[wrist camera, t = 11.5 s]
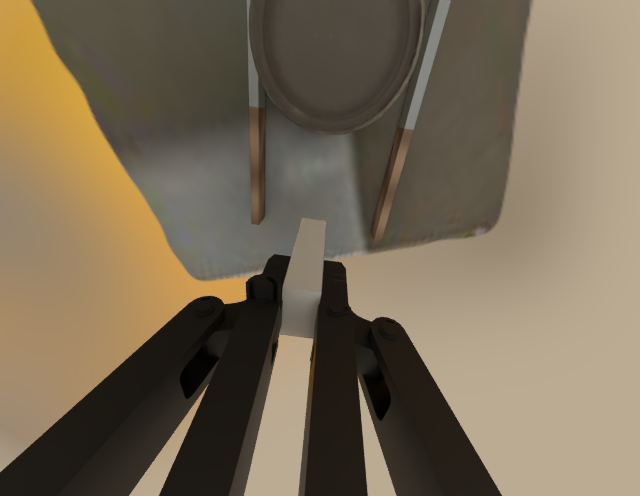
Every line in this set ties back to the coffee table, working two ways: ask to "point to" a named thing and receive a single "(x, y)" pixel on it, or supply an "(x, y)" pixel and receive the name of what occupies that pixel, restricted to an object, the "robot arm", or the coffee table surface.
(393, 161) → the slot rails
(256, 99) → the grey piece
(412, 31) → the coffee can
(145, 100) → the coffee table surface
